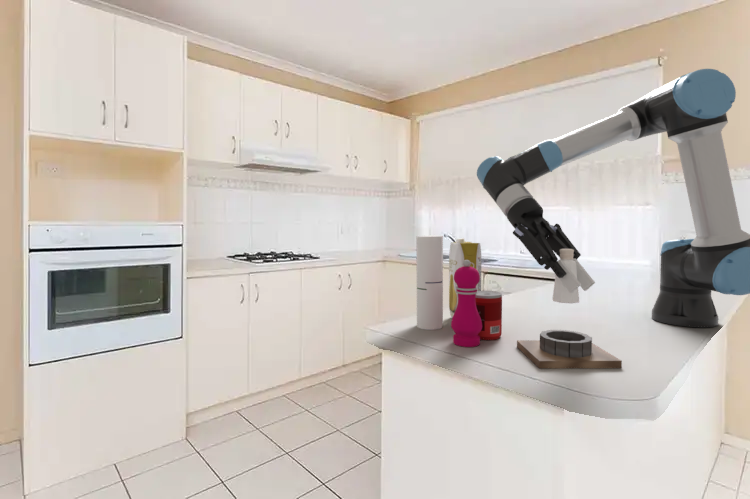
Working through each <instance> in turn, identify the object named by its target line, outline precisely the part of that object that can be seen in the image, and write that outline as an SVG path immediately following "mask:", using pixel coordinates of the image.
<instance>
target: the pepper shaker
mask: <svg viewBox="0 0 750 499" xmlns="http://www.w3.org/2000/svg"><path fill="white" fill-rule="evenodd" d="M573 253H574V250H573V249H560V257H559V259H558V260H557V262H558V261H559V260H563V262H564V263H565V264H566V266H567V267H568V268H569V269H570V271H571V272H572V273H573V274H574V276H575V277H576V278H577V268H576V262H575V261H573V257H574V254H573ZM554 277H555V278H554V284H553V285H554V286H553V292H552V302H556V303H559V304H560V303H561V304H576V303H577V304H578V303H580V295H579V293H580V292H579V287H578V288H577V289H576V290H575V291H574V292H573V293H570V292H569V291H568V289H567V288H566V287H565V285H564V284H563V283H562V281H561V280H560V279H559V278H558V277H557V276H556V274H554Z"/></svg>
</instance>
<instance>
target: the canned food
mask: <svg viewBox="0 0 750 499" xmlns="http://www.w3.org/2000/svg"><path fill="white" fill-rule="evenodd" d="M477 292H478V293H477V294H476V298H475V302H476V308H477V311H478V313H479V315H480V318H481V321H482V330H481V331H480V332H479V333H478V335H479V336H480V341H481V340H482V341H495V340H499V339H500V338H501V336H502V334H503V333H502V328H503V327H502V325H503V324H502V321H503V313H502V312H503V294H502V292H500V291H496V290H495V291H494V290H481V291H477Z"/></svg>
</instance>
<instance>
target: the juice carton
mask: <svg viewBox="0 0 750 499" xmlns="http://www.w3.org/2000/svg"><path fill="white" fill-rule="evenodd" d="M481 246H482V245H481V243H480V242H472V241H465V238H464V237H460V238H455V241H452V242H450V246H449V254H448V256H449V257H448V258H449V259H448V283H449V284H448V292H449V293H448V308H449V309H448V310H449V314H450V317H451V318H453V315H454V313H455V311H456V308H457V305H458V293H456V291H457V290H456V287H457V284H456V283H455V281H454V274H455V271H456V270H457V269H458V268H460V267H463V266H464V265H463V262H464V261H465V260H469V261H470V262H471V265H470V267H473V268H475V269H476V270H477V271H478V272H479V275H480V281H479V283H478V284H477V285H476V287H477V288H478V289H477V291H482V248H481Z"/></svg>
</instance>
